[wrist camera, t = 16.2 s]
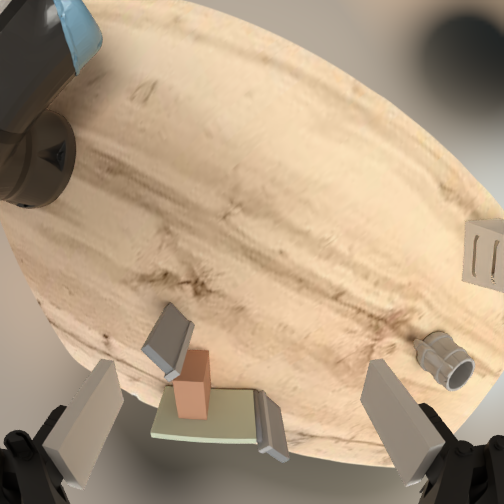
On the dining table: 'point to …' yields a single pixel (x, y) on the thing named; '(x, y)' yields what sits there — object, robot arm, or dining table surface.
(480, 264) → the grater
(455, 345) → the mug
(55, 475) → the robot arm
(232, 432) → the door
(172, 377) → the frame
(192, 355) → the orange brown rectangular block
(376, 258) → the dining table surface
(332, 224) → the dining table surface
